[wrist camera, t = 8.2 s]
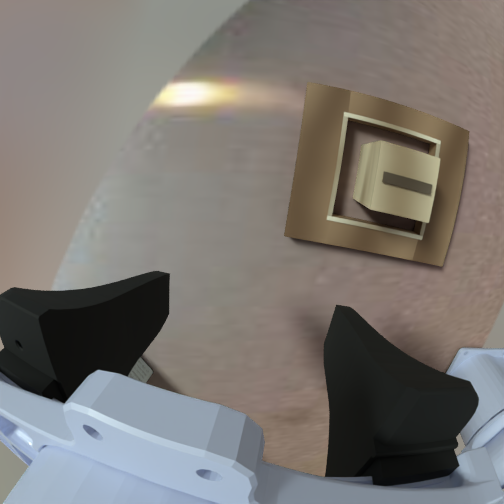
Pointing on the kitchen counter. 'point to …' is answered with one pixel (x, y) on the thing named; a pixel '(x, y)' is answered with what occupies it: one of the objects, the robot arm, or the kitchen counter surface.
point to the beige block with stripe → (396, 180)
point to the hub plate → (329, 163)
